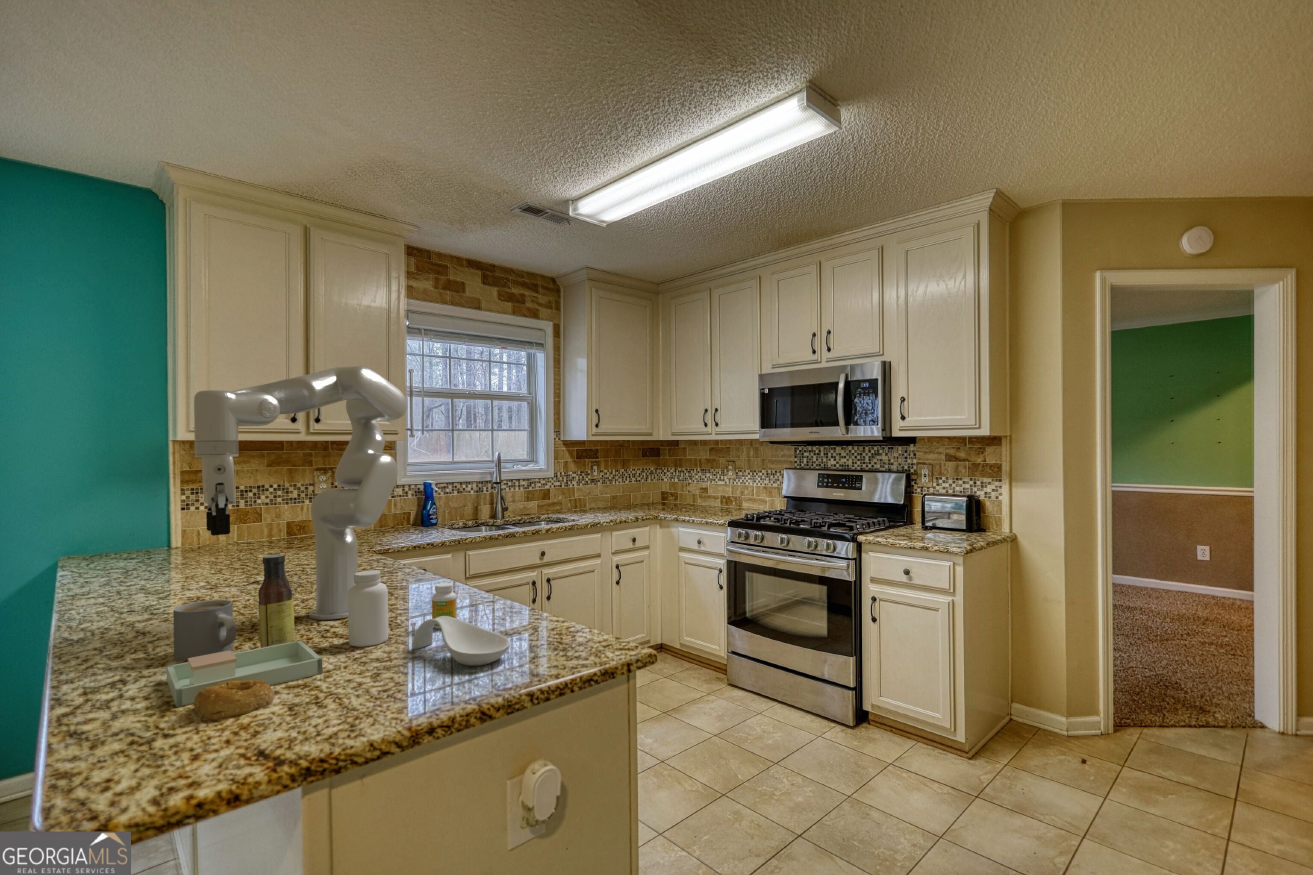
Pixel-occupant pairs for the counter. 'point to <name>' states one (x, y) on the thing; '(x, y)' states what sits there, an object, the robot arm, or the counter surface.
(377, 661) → the counter surface
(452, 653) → the spoon rest
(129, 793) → the counter surface
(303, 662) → the pale green tray
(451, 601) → the supplement bottle
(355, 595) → the pill bottle
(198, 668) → the pink lidded box
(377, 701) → the counter surface
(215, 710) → the bagel
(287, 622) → the sauce bottle
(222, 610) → the coffee mug
